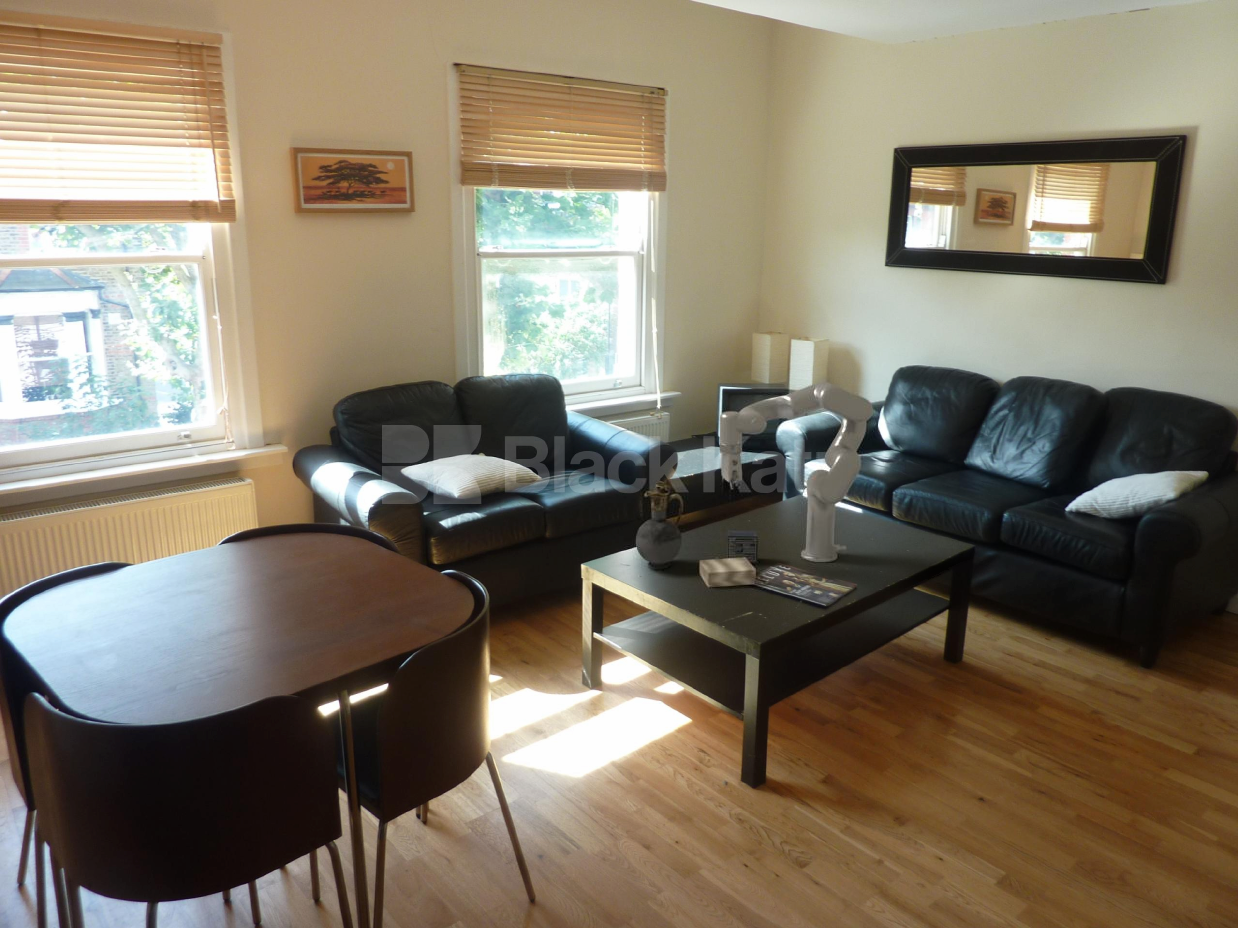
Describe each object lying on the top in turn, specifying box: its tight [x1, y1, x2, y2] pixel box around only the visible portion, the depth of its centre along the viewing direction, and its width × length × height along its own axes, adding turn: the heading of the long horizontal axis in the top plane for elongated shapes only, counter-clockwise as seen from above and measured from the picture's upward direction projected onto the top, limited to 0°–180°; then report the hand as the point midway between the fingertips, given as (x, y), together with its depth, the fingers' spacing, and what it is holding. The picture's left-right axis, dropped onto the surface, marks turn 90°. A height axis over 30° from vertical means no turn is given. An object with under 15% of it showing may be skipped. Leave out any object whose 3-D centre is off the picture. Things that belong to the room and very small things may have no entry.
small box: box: [727, 530, 759, 565], centre depth 331 cm, size 11×6×10 cm, turn 84°
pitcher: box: [635, 481, 684, 570], centre depth 326 cm, size 11×19×30 cm, turn 130°
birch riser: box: [699, 557, 757, 588], centre depth 315 cm, size 16×12×5 cm
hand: (730, 496), depth 326 cm, fingers open, 9 cm apart
